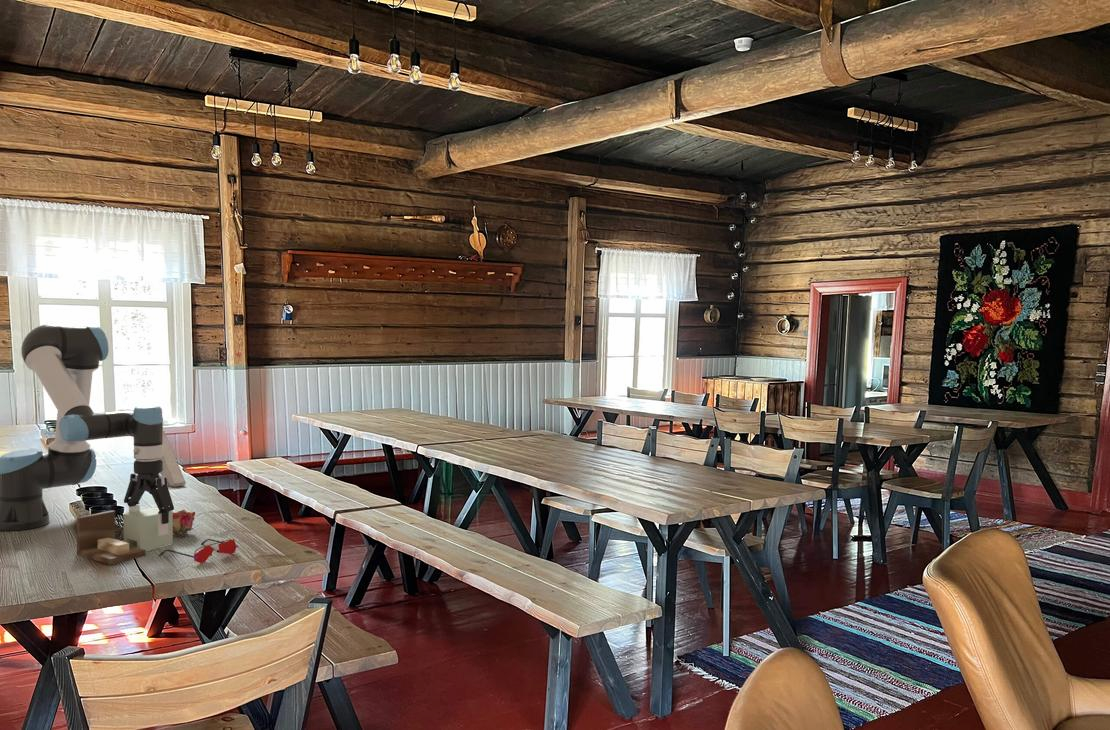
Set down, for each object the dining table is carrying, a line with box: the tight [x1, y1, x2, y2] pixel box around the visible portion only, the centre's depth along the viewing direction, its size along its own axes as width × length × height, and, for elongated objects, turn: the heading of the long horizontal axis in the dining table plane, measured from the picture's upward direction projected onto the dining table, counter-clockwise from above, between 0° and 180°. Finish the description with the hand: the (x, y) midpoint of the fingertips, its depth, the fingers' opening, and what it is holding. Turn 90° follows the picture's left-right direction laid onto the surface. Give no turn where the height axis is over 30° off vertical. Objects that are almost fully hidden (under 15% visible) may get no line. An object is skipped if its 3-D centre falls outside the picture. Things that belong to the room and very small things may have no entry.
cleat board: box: [76, 510, 147, 565], centre depth 218 cm, size 16×10×10 cm, turn 60°
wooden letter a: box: [159, 430, 187, 488], centre depth 317 cm, size 22×4×30 cm
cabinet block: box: [123, 506, 174, 552], centre depth 228 cm, size 11×8×10 cm
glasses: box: [158, 538, 239, 564], centre depth 221 cm, size 14×16×5 cm
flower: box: [173, 509, 199, 538], centre depth 239 cm, size 10×9×8 cm
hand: (148, 531), depth 228 cm, fingers open, 13 cm apart
